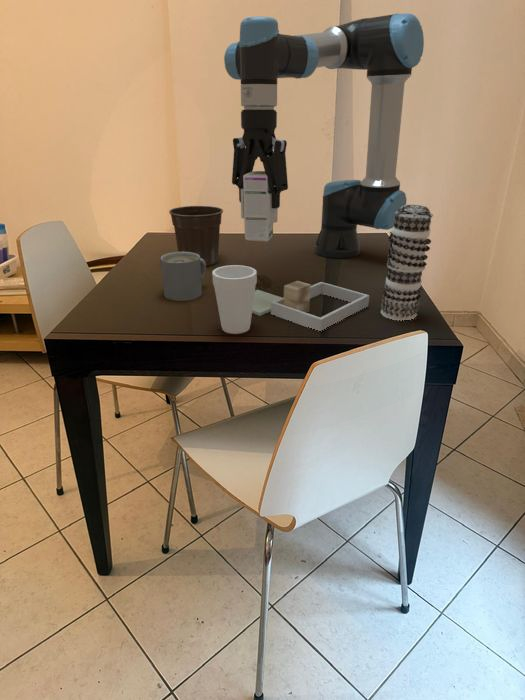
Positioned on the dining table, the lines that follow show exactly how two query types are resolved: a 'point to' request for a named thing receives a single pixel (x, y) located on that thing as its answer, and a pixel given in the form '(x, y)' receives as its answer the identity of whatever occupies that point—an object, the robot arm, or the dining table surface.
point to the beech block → (297, 296)
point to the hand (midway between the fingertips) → (258, 219)
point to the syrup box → (256, 207)
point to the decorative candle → (406, 262)
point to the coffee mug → (182, 275)
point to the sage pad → (263, 302)
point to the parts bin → (321, 323)
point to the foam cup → (235, 296)
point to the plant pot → (198, 230)
